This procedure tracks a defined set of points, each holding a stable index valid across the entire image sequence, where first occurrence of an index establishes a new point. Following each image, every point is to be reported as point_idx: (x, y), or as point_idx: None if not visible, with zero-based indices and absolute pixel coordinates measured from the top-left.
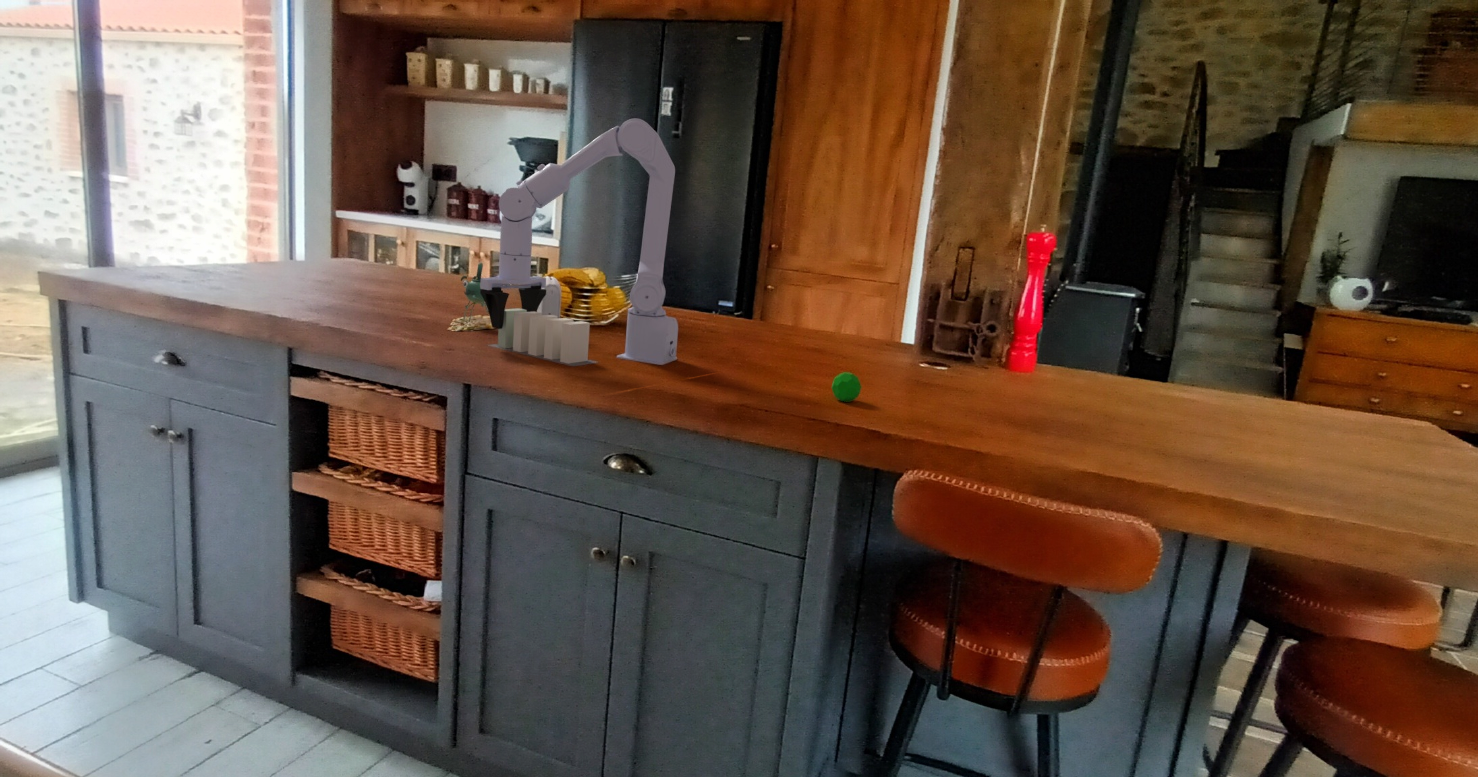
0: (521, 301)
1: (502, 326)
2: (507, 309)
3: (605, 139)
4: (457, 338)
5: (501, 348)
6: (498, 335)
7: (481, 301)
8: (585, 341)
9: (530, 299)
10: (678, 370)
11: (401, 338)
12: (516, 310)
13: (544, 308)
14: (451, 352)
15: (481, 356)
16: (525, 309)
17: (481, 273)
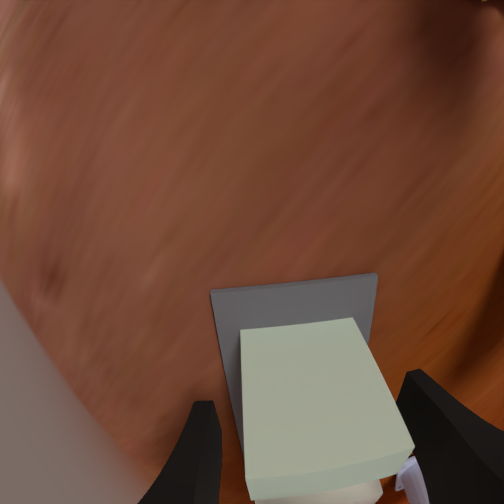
0: (471, 449)
1: (221, 441)
2: (308, 476)
3: None
4: (211, 44)
5: (228, 361)
6: (241, 365)
7: None
8: None
9: (447, 500)
10: (385, 498)
11: (3, 19)
12: (330, 489)
13: None
14: (44, 317)
15: (112, 392)
16: (438, 438)
17: None
